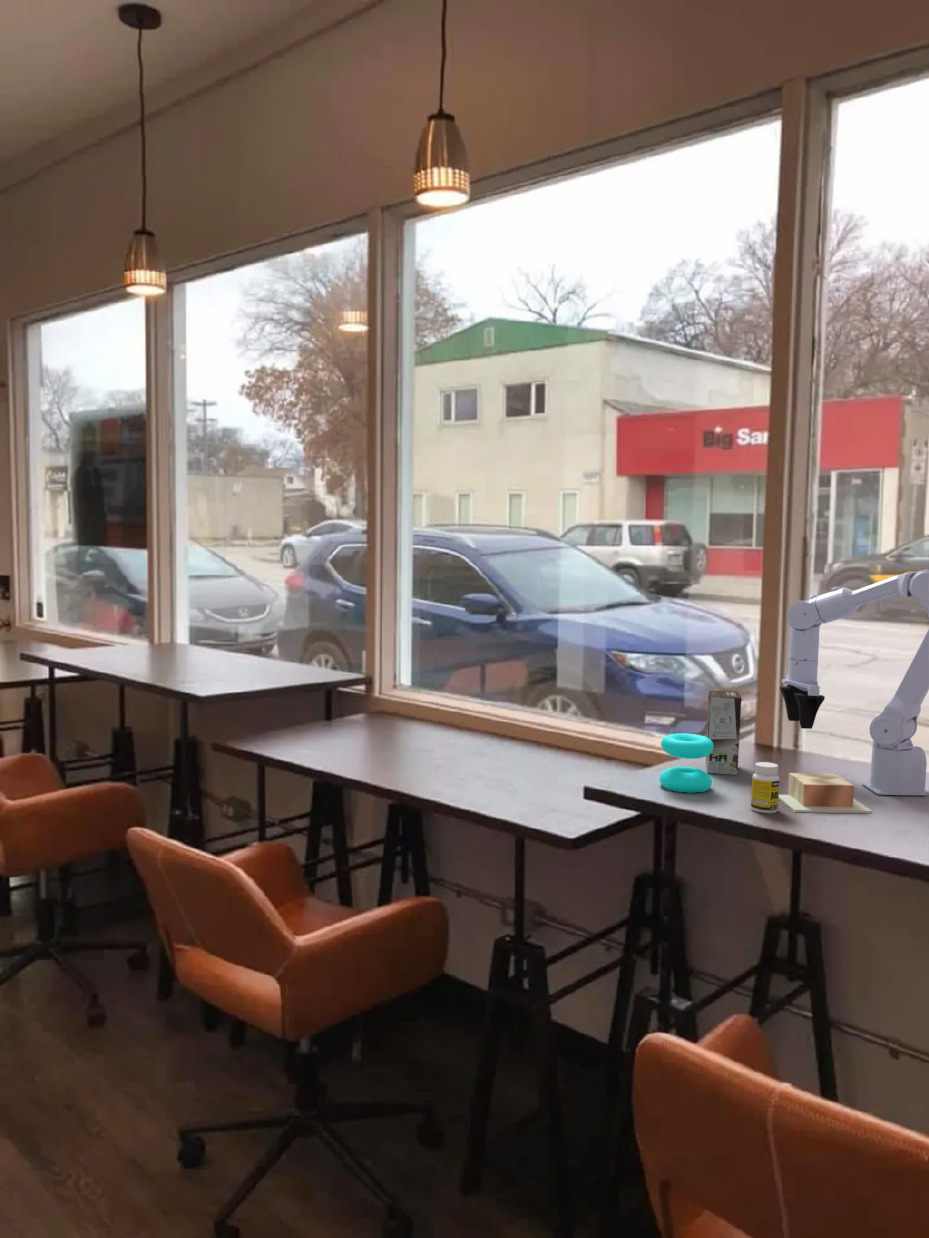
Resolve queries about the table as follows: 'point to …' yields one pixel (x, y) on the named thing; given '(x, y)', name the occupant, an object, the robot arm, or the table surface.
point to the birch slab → (820, 790)
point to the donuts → (681, 775)
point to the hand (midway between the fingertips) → (799, 724)
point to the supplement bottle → (765, 788)
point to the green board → (797, 807)
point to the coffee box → (723, 731)
